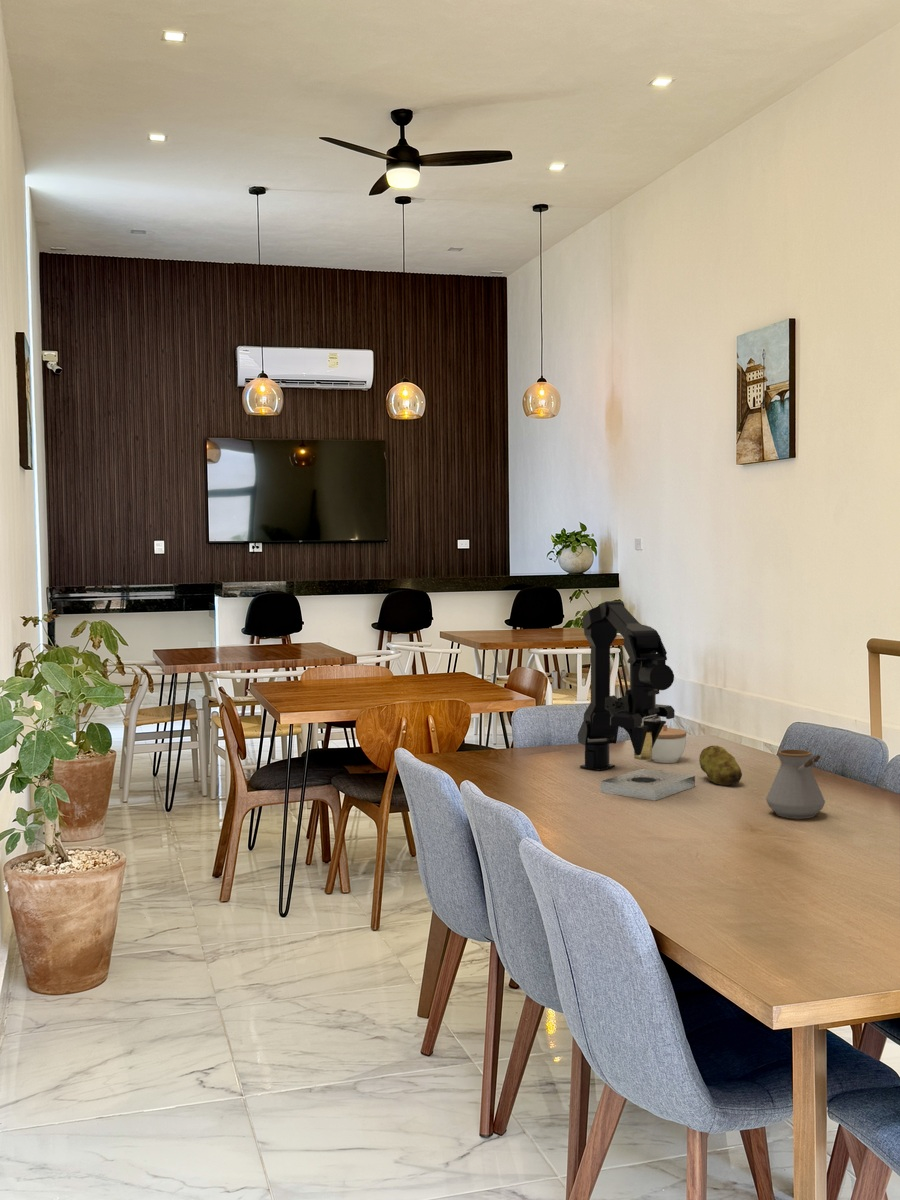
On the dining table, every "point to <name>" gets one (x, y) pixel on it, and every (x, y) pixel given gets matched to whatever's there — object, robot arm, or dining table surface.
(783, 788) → the coffee pot
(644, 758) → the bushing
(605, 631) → the robot arm
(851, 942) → the dining table surface
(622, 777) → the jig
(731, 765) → the potato
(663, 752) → the lidded jar
